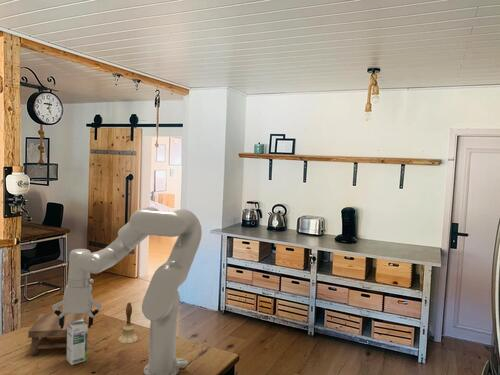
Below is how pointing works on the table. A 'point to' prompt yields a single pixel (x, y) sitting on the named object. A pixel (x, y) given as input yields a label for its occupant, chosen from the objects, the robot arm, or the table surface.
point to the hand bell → (128, 329)
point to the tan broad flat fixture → (50, 330)
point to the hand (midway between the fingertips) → (76, 327)
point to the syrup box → (77, 341)
